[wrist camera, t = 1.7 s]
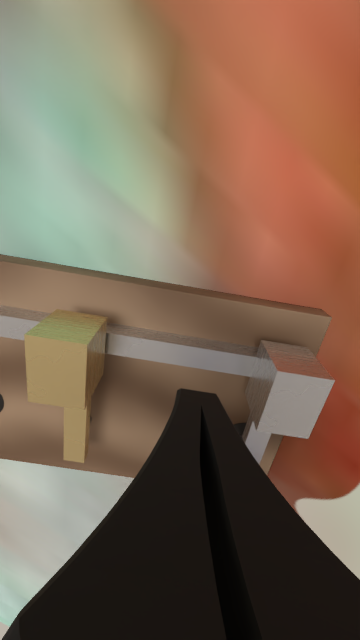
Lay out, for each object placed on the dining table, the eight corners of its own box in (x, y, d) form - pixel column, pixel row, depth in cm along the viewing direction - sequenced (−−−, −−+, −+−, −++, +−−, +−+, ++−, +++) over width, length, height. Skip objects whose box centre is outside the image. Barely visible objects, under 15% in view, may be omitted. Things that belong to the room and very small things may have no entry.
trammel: (265, 461, 19) (284, 524, 15) (-54, 412, 18) (-118, 467, 14) (313, 339, 15) (354, 383, 11) (-82, 273, 14) (-177, 297, 11)
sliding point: (103, 440, 18) (80, 502, 14) (65, 434, 18) (33, 496, 14) (113, 308, 14) (87, 344, 11) (67, 300, 14) (24, 334, 11)
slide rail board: (254, 480, 21) (258, 496, 20) (-41, 436, 20) (-55, 451, 19) (321, 309, 16) (332, 318, 14) (-77, 241, 15) (-99, 244, 14)
